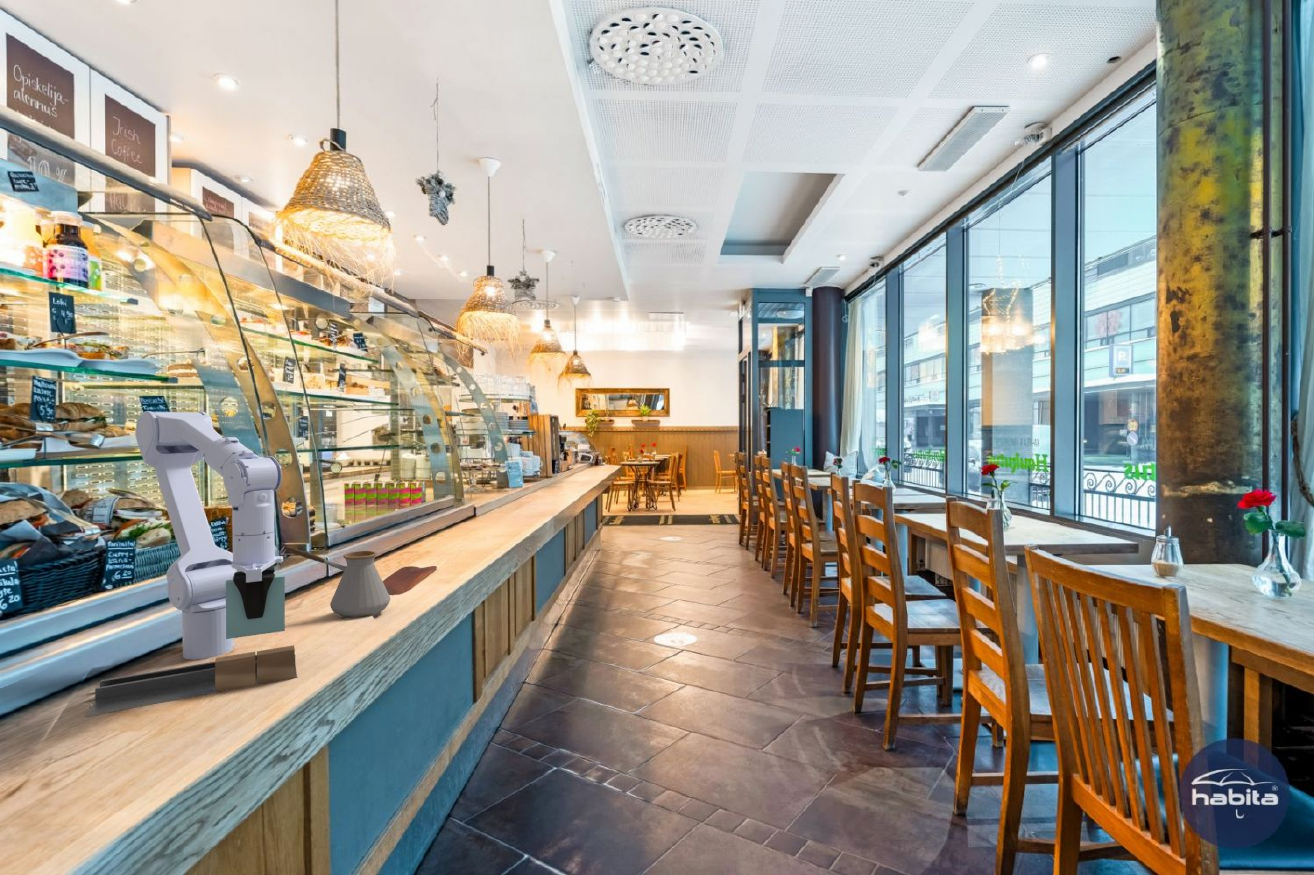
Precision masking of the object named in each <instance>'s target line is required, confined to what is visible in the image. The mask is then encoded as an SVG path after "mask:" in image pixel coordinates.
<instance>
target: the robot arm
mask: <svg viewBox="0 0 1314 875" xmlns="http://www.w3.org/2000/svg"><path fill="white" fill-rule="evenodd" d="M135 424H136V426H135V439H136V442H137V446H138V449H139V452H140V455H141V458H142V461H143V463H144V464H145V465H148V466H150V467H152V468H153V469H154V471H155V475H156V477H157V483H158V486H159V488H160V491H161V495H162V498H163V502H164V504H165V508H166V511H167V514H168V517H169V521H170V524H171V527H172V530H173V534H174V537H175V540H176V543H177V546H178V550H179V553H180V556H179V557H178V558H177V559H176V560H175V561H174V562H173V563H171V565H170V566H169V567H168V569H167V572H166V573H165V574H166V576H165V577H166V580H167V596H168V600H169V602H170V603H171V605H172V606H173V607H174V608H175V609H177V610H178V611H181V621H182V622H181V624H182V626H181V628H182V631H181V632H182V634H181V635H182V657H183V658H184V659H187V660H204V659H205V660H206V659H210V658H211V659H212V658H217V657H220V656H222V655H224V654H225V655H226V654H228V653H229V652H232V651H233V649H234V648H235V647H234V646H235V644H234V639H235V638H231V639H226V580H233V582H234V584H235V585H236V587H237V588H238V590H239V592H240V594H241V597H242V600H243V605H244V610H245V614H246V617H247V619H255V618H262V617H263V614H264V610H265V604H266V598H267V594H268V590H269V588H270V585H271V583H272V581H273V580H274V577H275V575H276V574H275V571H276V570H275V568H276V567H274V565H275V564H277V563H278V564H280V563H283V562H284V556H282V555H278V556H276V554H275V553H276V547H275V546H276V543H275V541H276V539H275V538H276V536H275V492H276V491H278V490H279V489H280V487H281V485H282V483H283V482H282V481H283V471H282V467H281V465H280V463H279V462H278V460H277V459H276V458H275V457H274V456H271V455H270V456H258V455H257V454H256V453H255V452H254V451H252V450H251V449H249V448H248V447H247V446H245V445H244V444H242V443H241V442H240V439H238V438H237V437H236V436H231V437H230V436H228V437H226V436H225V437H222V436H221V434H220V433H218V432H217V431H216V430H215V429H214V424H213V419H212V416H210V415H208V413H207V412H205V411H196V412H194V411H190V412H189V411H187V412H184V411H183V412H182V411H180V412H177V411H176V412H175V411H150V410H146V411H143V412H142V413H141V414H140V415H139V416H138V418H137V421H136V423H135ZM203 458H204V461H205V463H206V464H207V466H209V467H210V468H211V469H212V470H214V471H215V472H216V473H217V474H218V475H220V476H221V477H222V480H223V486H224V488H225V490H226V493H227V502H228V505H229V506H231V513H232V514H231V515H232V517H231V521H232V524H231V525H232V552H231V551H229V550H226V549H224V548H221V547H219V546H217V545H216V543H215V540H214V537H213V534H212V531H211V527H210V525H209V524H210V523H209V522H208V518H207V516H206V512H205V508H204V506H203V503H202V500H201V497H200V493H199V491H198V487H197V485H196V481H195V478H194V475H193V472H192V466H193V465H194V464H197V463H198V462H200V461H201V462H202V461H203Z"/></svg>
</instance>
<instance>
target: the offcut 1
mask: <svg viewBox="0 0 1314 875" xmlns="http://www.w3.org/2000/svg"><path fill="white" fill-rule="evenodd" d="M255 655H256V651H250V652H245V653H238V654H232V655H231V654H230V655H225V656H217V657H215V660H214V662H215V688H216V692H218V693H222V692H221V691H224V692H227V691H226V690H229V691H232V690H231V689H234V690H238V689H237V688H240V689H243V688H242V687H245V688H249V687H248V686H251V687H254V686H253V685H256V666H255ZM256 686H257V685H256Z"/></svg>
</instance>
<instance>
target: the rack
mask: <svg viewBox="0 0 1314 875" xmlns="http://www.w3.org/2000/svg"><path fill="white" fill-rule="evenodd" d="M255 666H256V685H253V686H248V687H247V688H249V687H250V688H251V687H255V686H260V685H262V684H258V685H257V654H255ZM296 666H297V664H296V662H295V678H291V679H290V680H292V679H298V675H297V673H298V672H297V667H296ZM288 680H289V679H285V680H280V681H275V682H274V683H278V682H282V681H288ZM271 683H273V682H269V683H264V684H263V685H265V684H271ZM244 688H246V687H242V688H237V689H236V690H238V689H244ZM233 690H235V689H231V690H226V691H221V692H220V693H223V692H227V691H233ZM218 693H219V692H216V688H215V661H208V662H203V663H199V664H193V665H192V664H191V665H186V666H179V667H174V668H168V669H162V670H155V671H149V672H143V673H137V674H132V675H125V676H118V677H112V678H106V679H100V681H99V686H98V687H95V688H94V694H95V695H94V696H95V700H94V701H93V703H92V705H91V706H90V708H89V710H88V712H87V713H86V715H85V718H88V717H94V716H99V715H103V714H104V715H105V714H109V713H116V712H120V711H126V710H131V709H137V708H142V707H148V706H153V705H159V704H164V703H169V702H174V701H180V700H187V699H191V698H196V697H201V696H207V695H212V694H218Z"/></svg>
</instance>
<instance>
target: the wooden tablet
mask: <svg viewBox="0 0 1314 875" xmlns="http://www.w3.org/2000/svg"><path fill="white" fill-rule="evenodd" d="M437 570H438V567H437V566H436V565H432V566H431V565H430V566H425V567H419V566H413V565H412V566H411V565H407V566H403V567H400V568H399V569H397V570H395V571H394V572H393V573H391V574H390V575H389V576H387V577H386V578H384V579H382V581H383V583H384V585H385V588H386V590H387V592H388V594H389V596H398V595H399V596H401V595H403V594H405V593H407V592H410V591H411V590H412V589H414V587H416V586H417V585H418V584H419V583H420V582H421V581H423V580H424V579H425V578H427V577H428V576H430V575H432V574H433V573H434V572H435V571H437Z"/></svg>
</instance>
